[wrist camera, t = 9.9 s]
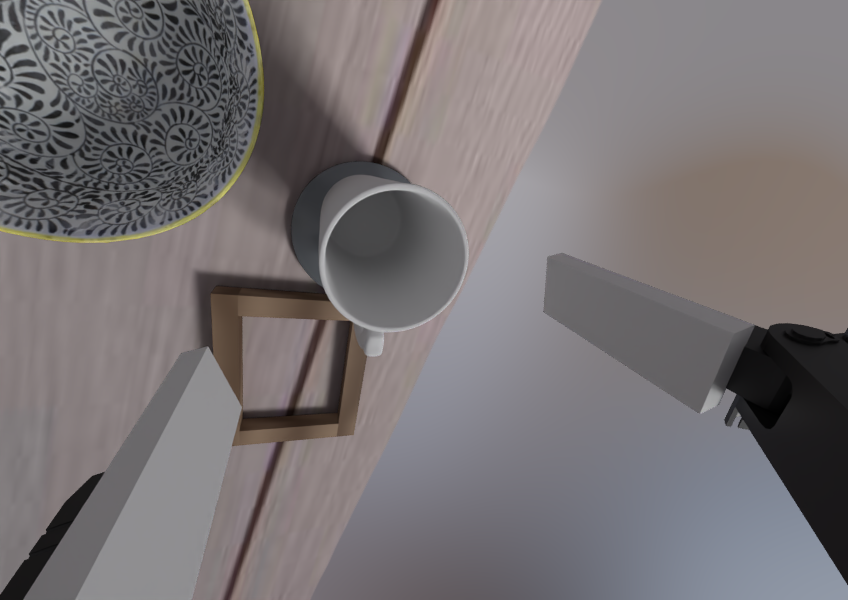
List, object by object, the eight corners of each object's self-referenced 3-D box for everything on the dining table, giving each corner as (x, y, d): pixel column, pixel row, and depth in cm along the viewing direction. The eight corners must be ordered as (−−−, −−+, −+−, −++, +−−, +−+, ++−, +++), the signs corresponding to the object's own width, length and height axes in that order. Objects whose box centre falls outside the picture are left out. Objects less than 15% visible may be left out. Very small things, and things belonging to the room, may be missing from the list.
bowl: (-18, -281, 12) (-407, -792, 6) (329, 71, 20) (336, 31, 13) (-167, 68, 14) (-572, -5, 8) (199, 261, 22) (151, 305, 16)
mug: (323, 158, 21) (331, 161, 11) (413, 182, 24) (487, 204, 13) (307, 290, 25) (301, 387, 14) (387, 299, 27) (430, 386, 17)
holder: (222, 434, 28) (217, 447, 27) (216, 285, 23) (210, 293, 22) (352, 423, 33) (353, 434, 31) (372, 297, 27) (375, 304, 26)
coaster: (288, 291, 25) (287, 294, 24) (296, 144, 21) (295, 144, 20) (414, 300, 29) (416, 303, 28) (441, 179, 25) (443, 179, 24)
